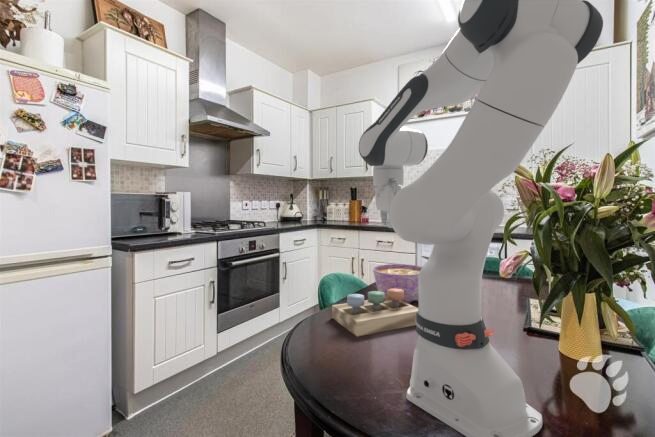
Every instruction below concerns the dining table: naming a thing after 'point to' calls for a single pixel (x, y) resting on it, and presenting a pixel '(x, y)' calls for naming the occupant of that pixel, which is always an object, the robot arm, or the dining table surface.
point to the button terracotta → (395, 296)
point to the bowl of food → (398, 279)
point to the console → (375, 317)
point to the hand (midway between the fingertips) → (387, 226)
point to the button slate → (355, 302)
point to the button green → (376, 299)
